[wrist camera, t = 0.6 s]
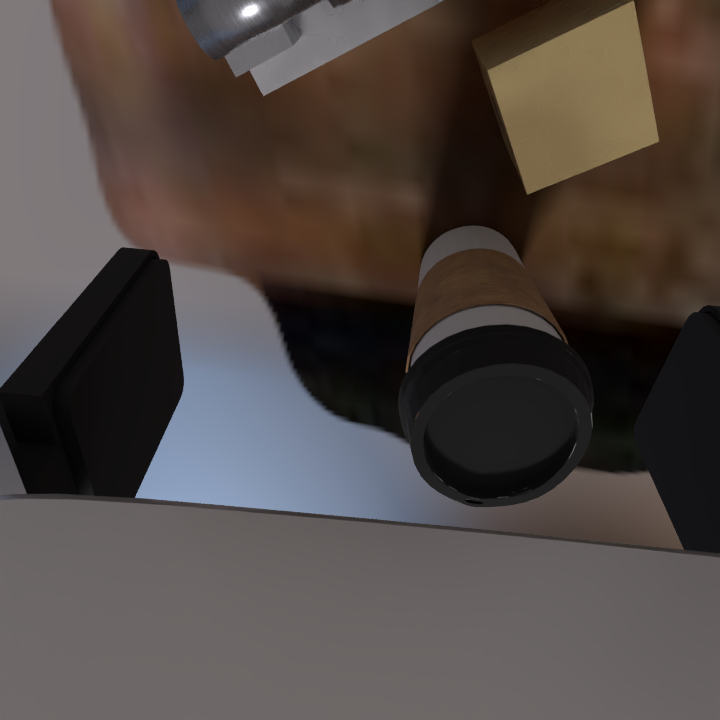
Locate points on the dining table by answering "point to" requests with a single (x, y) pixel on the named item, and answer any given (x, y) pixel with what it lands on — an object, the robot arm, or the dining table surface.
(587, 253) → the dining table surface
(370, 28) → the shaft bench
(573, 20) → the tan wooden cube
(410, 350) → the coffee cup
